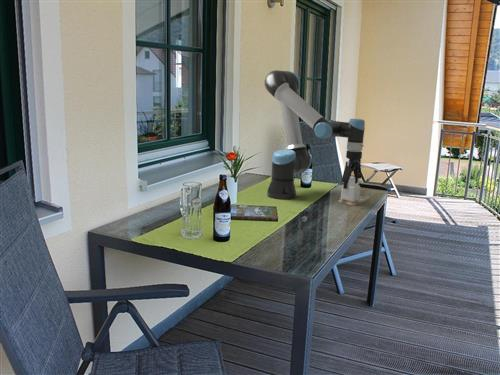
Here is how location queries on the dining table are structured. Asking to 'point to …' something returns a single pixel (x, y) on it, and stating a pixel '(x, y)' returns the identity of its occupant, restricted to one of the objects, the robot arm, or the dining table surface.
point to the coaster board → (354, 203)
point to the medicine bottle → (352, 190)
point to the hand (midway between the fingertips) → (350, 192)
